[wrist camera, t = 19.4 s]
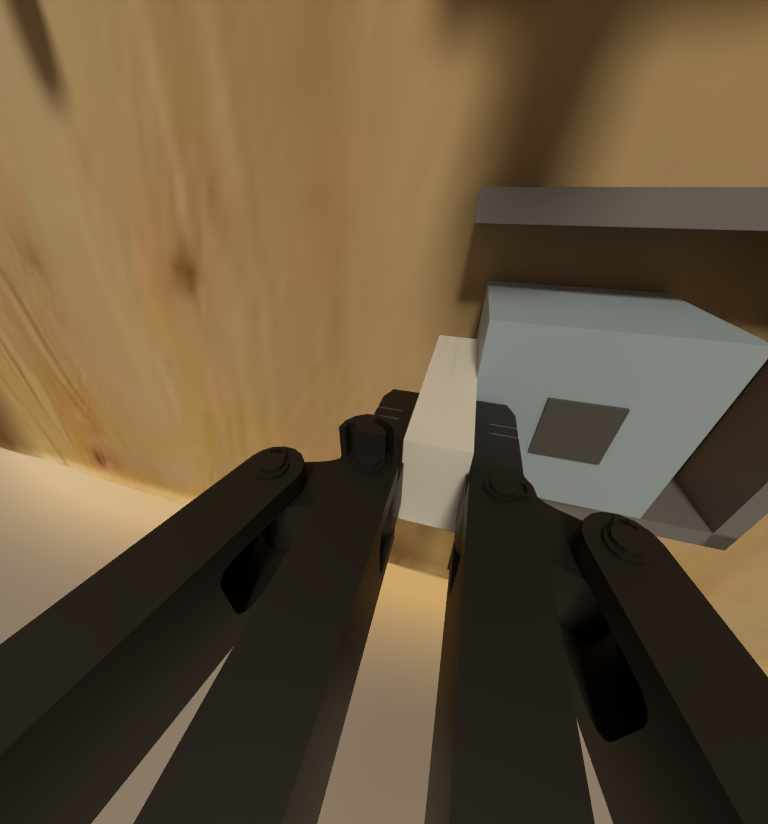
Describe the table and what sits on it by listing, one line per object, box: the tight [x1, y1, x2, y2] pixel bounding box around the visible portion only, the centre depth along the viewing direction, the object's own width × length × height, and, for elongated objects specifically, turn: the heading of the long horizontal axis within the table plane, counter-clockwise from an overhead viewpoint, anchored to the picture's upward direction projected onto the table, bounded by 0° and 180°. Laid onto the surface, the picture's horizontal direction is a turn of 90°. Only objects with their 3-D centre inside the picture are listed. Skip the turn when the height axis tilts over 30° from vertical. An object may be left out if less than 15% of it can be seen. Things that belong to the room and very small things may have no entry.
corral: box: [474, 187, 768, 550], centre depth 11 cm, size 12×12×3 cm
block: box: [476, 281, 768, 519], centre depth 11 cm, size 6×6×5 cm
